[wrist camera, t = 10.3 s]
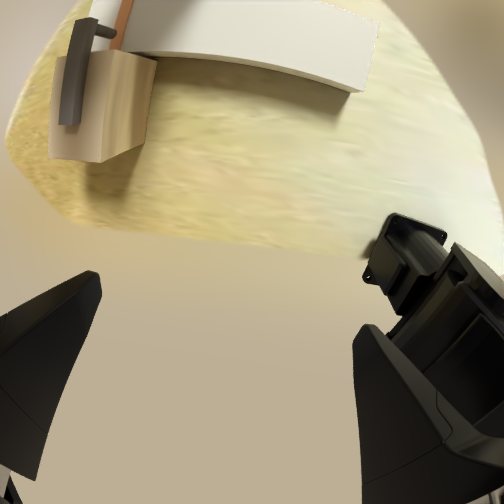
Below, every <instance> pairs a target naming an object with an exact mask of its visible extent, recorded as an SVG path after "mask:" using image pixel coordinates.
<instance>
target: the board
mask: <svg viewBox="0 0 504 504" xmlns="http://www.w3.org/2000/svg"><path fill="white" fill-rule="evenodd" d="M88 17H92V18H95V19H98V20H99V21H98V24H101V25H104V26H107V27H110V28H112V29H115V30H117V35H116V37H115V38H113V39H106V38H103V37H99V36H94V40H93V44H92V49H91V52H94V51H103V50H113V49H115V50H119V51H123V52H127V53H131V54H134V55H138V56H158V57H184V58H197V59H208V60H217V61H225V62H232V63H238V64H245V65H250V66H256V67H261V68H266V69H271V70H275V71H280V72H284V73H288V74H292V75H296V76H300V77H303V78H307V79H310V80H314V81H317V82H321V83H324V84H327V85H330V86H333V87H336V88H339V89H342V90H345V91H348V92H350V93H355V92H364V90H365V86H366V82H367V78H368V74H369V70H370V66H371V61H372V57H373V53H374V48H375V43H376V39H377V34H378V29H379V24H380V23H377V22H375V21H373V20H370V19H368V18H366V17H363V16H361V15H358V14H356V13H353V12H350V11H348V10H345V9H342V8H339V7H336V6H333V5H330V4H327V3H324V2H320V1H317V0H93V3H92V6H91V9H90V12H89V16H88Z"/></svg>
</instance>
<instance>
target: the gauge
mask: <svg viewBox="0 0 504 504" xmlns="http://www.w3.org/2000/svg"><path fill="white" fill-rule="evenodd" d="M98 21H99V20H98V19H95V18H92V17H88V18H83V19H79V20H75V24H74V28H73V31H72V35H71V40H70V44H69V48H68V53H67V56H63V57H58V58H57V60H56V66H55V72H54V78H53V86H52V94H51V104H50V116H49V140H48V159H63V160H76V161H87V162H97V163H102V162H104V161H106V160H108V159H110V158H112V157H114V156H116V155H118V154H121V153H123V152H125V151H127V150H129V149H132V148H134V147H136V146H139V145H141V144H143V143H145V135H146V127H147V119H148V112H149V106H150V99H151V93H152V87H153V82H154V77H155V72H156V67H157V62H158V61H155V60H151V59H148V58H145V57H141V56H138V55H134V54H131V53H127V52H123V51H119V50H115V49H113V50H103V51H94V52H91V49H92V44H93V40H94V36H99V37H103V38H106V39H113V38H115V37H116V35H117V30H115V29H112V28H110V27H107V26H104V25H101V24H98Z"/></svg>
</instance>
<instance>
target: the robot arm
mask: <svg viewBox="0 0 504 504" xmlns="http://www.w3.org/2000/svg"><path fill="white" fill-rule="evenodd" d="M395 218H397V220H396V221H394V222H393V220H394V219H395ZM442 235H443V236H442ZM441 236H442V237H441ZM446 239H447V233H446V232H445V231H444V230H442V229H440V228H437V227H434V226H432V225H429V224H426V223H424V222H421V221H418V220H415V219H413V218H410V217H407V216H404V215H401V214H398V213H392V214H391V215H390V216H389V218H388V221H387V223H386V225H385V228H384V230H383V232H382V235H381V236H380V237H379V239H378V241H377V243H376V245H375V248H374V250H373V252H372V254H371V256H370V258H369V261H368V265H367V267H366V269H365V271H364V273H363V275H362V278H363V281H364V282H365V283H367V284H373V285H378V286H380V288H381V290H382V291H383V294H384V295H385V296H387V297H388V299H389V301H390V303H391V305H392V307H393V309H394V311H395V313H396V315H399V316H402V318H401V320H400V321H399V322H398V323H397V324H396V325H395V326H394V328H393V329H392V330H391V331H390V332H388V333H387V334H386V335H384V334H383V333H382V332H381V331H380V329H378V327H377V326H375V325H370V324H364V325H363V326H362V327H361V329H360V331H359V332H358V334H357V335H356V337H355V338H354V340H353V344H352V349H353V378H354V390H355V398H356V407H357V417H358V427H359V439H360V454H361V474H362V504H504V282H503V281H502V280H501V278H500V277H499V276H498V275H497V274H496V273H495V272H494V271H493V270H492V269H491V268H490V267H489V266H488V265H487V264H486V263H485V262H483V261H482V260H481V259H479V258H478V257H476V256H475V255H474V254H472V253H471V252H469V251H468V250H466V249H465V248H463V247H462V246H460V245H459V244H457V243H456V242H454V244H453V245H452V247H451V251H450V253H448V252H447V251H446V250H445V249H444V248H443V245H444V243H445V241H446ZM368 276H370V277H369V278H367V277H368ZM101 297H102V289H101V283H100V277H99V274H98V273H97V272H93V271H90V270H88V271H85V272H83V273H81V274H79V275H77V276H75V277H73V278H71V279H69V280H67V281H65V282H63V283H61V284H59V285H57V286H56V287H53V288H51V289H50V290H48V291H46V292H44V293H42V294H40V295H38V296H36V297H35V298H33V299H31V300H29V301H27V302H25V303H24V304H22V305H20V306H18V307H16V308H15V309H13V310H11V311H9V312H8V314H7V313H6V314H4V315H2V316H0V504H23V503H22V501H21V499H20V497H19V495H18V493H17V491H16V488H15V486H14V484H13V482H12V479H11V476H10V472H11V470H12V471H14V472H16V473H18V474H20V475H22V476H24V477H26V478H28V479H31V480H33V481H35V480H36V477H37V472H38V468H39V464H40V460H41V456H42V453H43V449H44V446H45V442H46V439H47V436H48V432H49V429H50V426H51V423H52V420H53V417H54V414H55V411H56V408H57V406H58V403H59V400H60V398H61V395H62V392H63V390H64V387H65V385H66V382H67V380H68V377H69V375H70V373H71V370H72V368H73V365H74V363H75V361H76V359H77V357H78V354H79V352H80V350H81V348H82V346H83V344H84V341H85V339H86V337H87V335H88V332H89V329H90V327H91V324H92V321H93V319H94V316H95V313H96V310H97V308H98V305H99V303H100V300H101Z"/></svg>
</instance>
